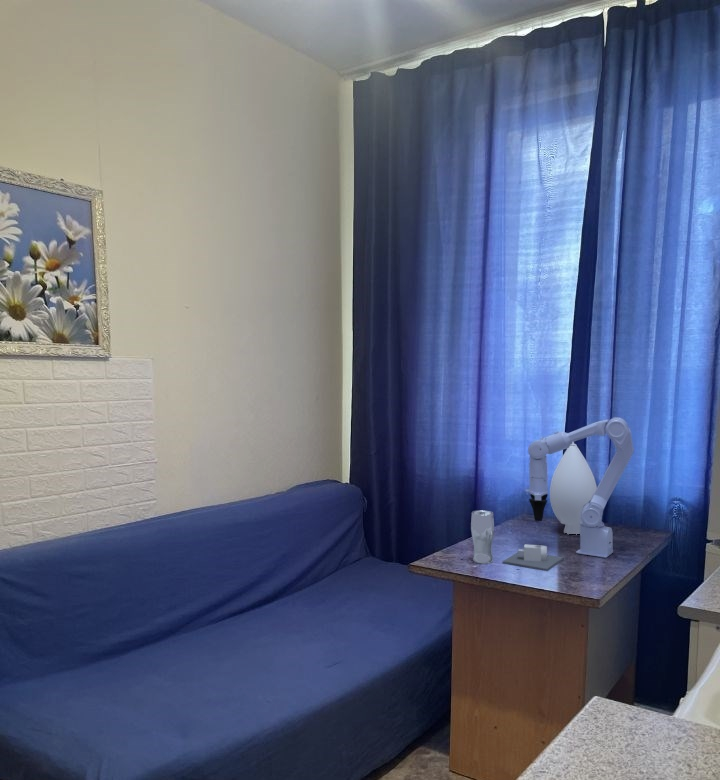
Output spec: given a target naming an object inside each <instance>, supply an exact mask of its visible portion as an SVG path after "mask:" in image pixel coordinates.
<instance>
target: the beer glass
mask: <svg viewBox="0 0 720 780" xmlns="http://www.w3.org/2000/svg"><path fill="white" fill-rule="evenodd" d="M470 519H471V520H470V521H471V522H470V531H471V538H472V542H473V543H472V544H473V558H472V562H474V563H476V564H483V565H486V564H487V565H488V564H491V563H494V562H493V561H494V557H493V553H492V548H493V547H492V546H493V541H494V534H495V521H494V520H495V519H494V512H493V511H489V510H483V509H482V510H480V509H479V510H473V511H472V512H471V518H470Z"/></svg>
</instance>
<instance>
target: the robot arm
mask: <svg viewBox="0 0 720 780" xmlns="http://www.w3.org/2000/svg"><path fill="white" fill-rule="evenodd" d="M595 435H596V436H602V437H605V436H606V435H607V437H608V438H609V439H610V440H611V441H612V442H613V444H614V446H615V450H616V451H615V453H614V456H613V457H612V459H611V461H610V463H609V465H608V467H607V468H606V471H605V472H604V474H603V476H602V478H601V480H600V481H599V484H598V485H597V489H596V491H595V493H594V494H593V496H592V498H591V500H590V501H589V502H587V503H586V504H585V505H584V506H583V509H582V512H581V520H582V522H580V535H579V537H580V539H579V544H580V546H579V549H577V550H576V551H575V553H576V554H579V555H585V556H587V555H588V556H592V557H593V556H594V557H599V558H605V559H607V558H608V557H609V556H610V555H612V553H614V548H613V542H614V541H613V540H614V539H613V537H614V536H613V535H614V534H613V529H612V527H609V526H607V525H605V522H604V521H602V520H603V515H604V510H605V508H606V505H607V502H608V501H609V499H610V497H611V496H612V494H613V492H614V490H615V487H616V486H617V485H618V482H619V480H620V479H621V477H622V475H623V473H624V471H625V469H626V467H627V466H628V464H629V462H630V460H631V458H632V457H633V455H634V451H635V450H634V444H633V438H632V432H631V428H630V426H629V424H628V422H627V421H626V420H625V419H624V418H623V417H619V416H616V417H612V418H610V419H604V420H600V421H596V422H593V423H590V424H587V425H585V426H582V427H580V428H577V429H575V430H573V431H571V432H565V431H563V430H561V431H559V430H555V431H554V432H553V434H550V435H548V436H546V437H544V436H540V438H539V439H536V440H533V441H532V442H531V443H530V444H529V445H528V448H527V452H528V455H529V458H528V459H529V464H528V466H529V467H528V468H529V469H528V471H529V472H528V475H529V476H528V477H529V484H528V485H529V488H528V489H527V488H526V489H525V493H529V496H530V498H529V499H528V501H529V503H530V505H531V508H532V512H533V518H534V521H535V522H543V517H544V513H545V512H544V511H545V508H546V505H547V503H548V499H547V498H548V497H549V496H548V494H549V490H548V462H547V459H548V457H547V454H548V455H552V454H555V453H558V452H561V451H563V450H567V448H569V447H570V444H572V442H574V443H575V442H576V441H580V440H583V439H587V438H589V437H592V436H595Z"/></svg>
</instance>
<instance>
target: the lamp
mask: <svg viewBox="0 0 720 780" xmlns="http://www.w3.org/2000/svg"><path fill="white" fill-rule="evenodd" d="M597 487H598V485H597V482H596V478H595V476H594V474H593V471H592V469H591V467H590V465H589V463H588V461H587V460H586V457H584V455H583V453H582V452H581V451H580V449H579V447H578V446H577V444H576V443H575V441H574V442H571V444H570V447H569V448H567V449H565V451H564V453H563V455H562V456H561V458H560V460H559V462H558V463H557V466H556V468H555V469H554V472H553V475H552V477H551V481H550V485H549V501H550V505H551V509H552V511H553V513H554V515H555V517H556V519H557V520H558V521H559V523H560V524H562V525H565V526H564V528H563V533H564V534H565V533H567V534H566V535H569V534H576V535H575V536H578V535H577V534H580V522H582V520H581V512H582V509H583V506H584V505H585V504H586V503H587V502H589V501H590V500H591V498H592V496H593V494H594V493H595V491H596V489H597Z"/></svg>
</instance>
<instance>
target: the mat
mask: <svg viewBox="0 0 720 780" xmlns="http://www.w3.org/2000/svg"><path fill="white" fill-rule="evenodd" d="M564 559H565V558H564V557H563V556H558V555H557V556H556V555H552V554H551V555H550V554H547V561H543V562H542V561H526V560H524V555H518V551H517V552H516V553H514V554H512V555H511V556H509V557H507V558H505V559H504V560H502V563H501V564H505V565H512V566H517V567H521V568H528V569H534V570H539V571H544V572H548V571H549V570H551V569H552V568H553V567H555V566H557V565H558V564H560V562H562V561H564Z"/></svg>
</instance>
